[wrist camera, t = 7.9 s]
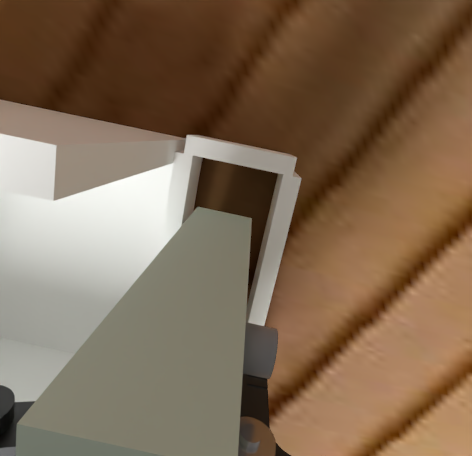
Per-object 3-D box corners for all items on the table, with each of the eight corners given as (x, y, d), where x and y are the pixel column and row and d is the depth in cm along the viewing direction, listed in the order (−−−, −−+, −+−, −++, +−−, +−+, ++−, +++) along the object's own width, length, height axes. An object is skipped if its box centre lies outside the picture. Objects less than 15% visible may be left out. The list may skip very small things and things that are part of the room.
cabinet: (298, 155, 17) (403, 206, 5) (237, 401, 21) (209, 772, 9) (-38, 85, 17) (-789, -44, 5) (-34, 342, 22) (-436, 628, 9)
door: (272, 222, 15) (320, 489, 4) (229, 401, 18) (179, 877, 6) (197, 206, 15) (16, 423, 4) (165, 387, 18) (1, 838, 6)
